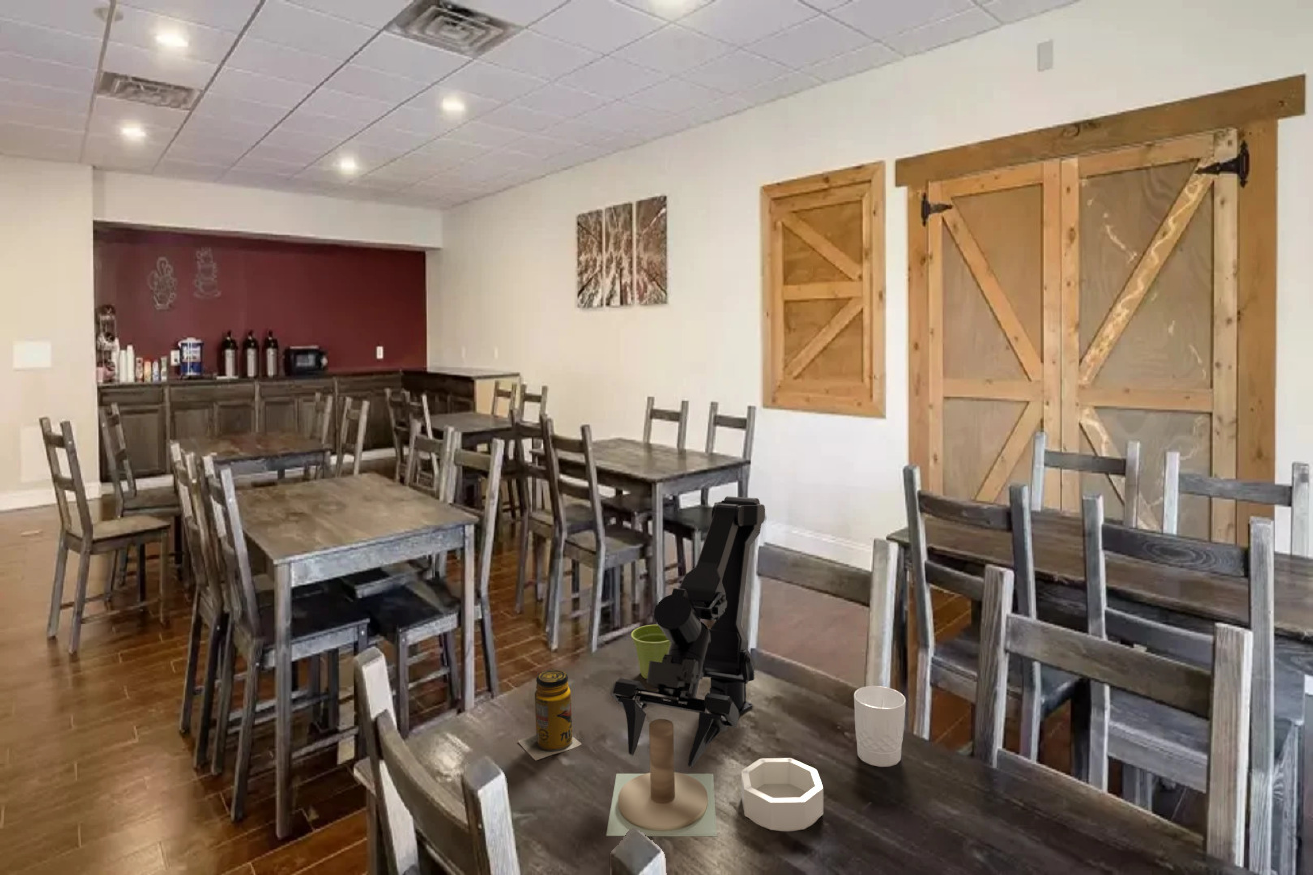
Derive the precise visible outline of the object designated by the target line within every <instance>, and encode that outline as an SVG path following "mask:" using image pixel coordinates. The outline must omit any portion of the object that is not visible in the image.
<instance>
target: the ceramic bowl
mask: <svg viewBox="0 0 1313 875" xmlns="http://www.w3.org/2000/svg"><path fill="white" fill-rule="evenodd" d="M740 787H741V788H740V789H741V790H740V792H741V793H740V795H741V796H740V797H741V802H742V809H743V814H744V817H747V818H749V820H750V821H751V822H753V823H754V824H756V825H758V826H761V827H762V828H765V829H769V830H770V831H778V832H796V831H801V830H806V829H807V828H809V827H811V826H813V825H814V824H815V823H816V822H817V821H818V820H819V818H821V816H823V815H824V787H823V784H822V780H821V778H820V775H819V772H818V770H817V769H816V768H814V767H813V766H809V765H807V764H805V763H803V762H801V761H798V760H796V759H794V758H792V757H777V758H776V757H773V758H759V759H757V760H756V761H754V762H753V763H751V764H749V765H747V766H746V767H745V768H743V769H742V770H741V771H740Z"/></svg>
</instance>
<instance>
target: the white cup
mask: <svg viewBox="0 0 1313 875" xmlns="http://www.w3.org/2000/svg"><path fill="white" fill-rule="evenodd" d="M853 702H854V703H853V704H854V724H855V725H854V730H855V739H856V749H857V757H858V758H859V759H860V760H861V761H862V762H863V763H865V764H868V765H871V766H876V767H879V768H884V767H886V768H887V767H892V766H895V765H897V764H898V763H900V761H901V760H902V744H903V738H904V730H905V713H906V703H907V702H906V697H905V696H904V695H903V693H901V692H900V691H898V690H896V689H894V688H891V687H885V686H881V685H867V686H863V687H860V688H858V689H856V690H855V691H854V693H853Z"/></svg>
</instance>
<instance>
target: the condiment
mask: <svg viewBox="0 0 1313 875" xmlns="http://www.w3.org/2000/svg"><path fill="white" fill-rule="evenodd" d="M535 681H536V687H535V688H536V690H535V692H534V709H535V710H534V712H535V713H534V714H535V731H536V732H535V734H533V735H532V736H529V737H526V738H525V737H524V738H522V739H518V740H517V742H518V743H519V745H521V747H522V748H523V749H524V750H525V751H526V753H527V754H529V756H531V757H532V759H534V760H535V761H538V760H541V759H544V758H547V757H550V756H553V755H556V754H560V753H563V752H566V751H568V750H569V751H570V750H571V749H572V750H573V749H574V748H577V747H579V746H581V745H582V743H581V742H580V741H579V740H577V739H576V738H575V737H574V736H573V717H572V716H573V715H572V714H573V713H572V694H571V693H572V692H571V691H572V690H571V689H570V687H569V676H568V674H567V673H566V671H565V670H562V669H561V670H560V669H549V670H544V671H542V672H540V673H538V675H537V676H536V679H535Z"/></svg>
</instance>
